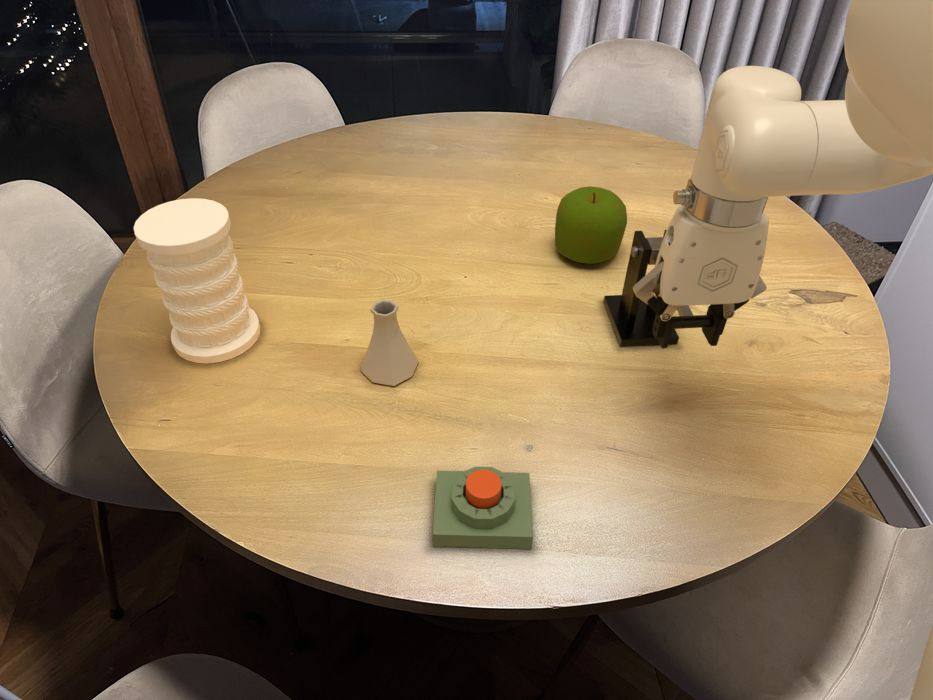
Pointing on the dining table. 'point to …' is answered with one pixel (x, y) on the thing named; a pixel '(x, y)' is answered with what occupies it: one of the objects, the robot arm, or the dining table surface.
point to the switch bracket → (634, 301)
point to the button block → (482, 513)
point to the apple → (590, 225)
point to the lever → (685, 313)
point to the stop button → (483, 488)
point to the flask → (388, 348)
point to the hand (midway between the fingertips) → (685, 338)
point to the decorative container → (198, 279)
